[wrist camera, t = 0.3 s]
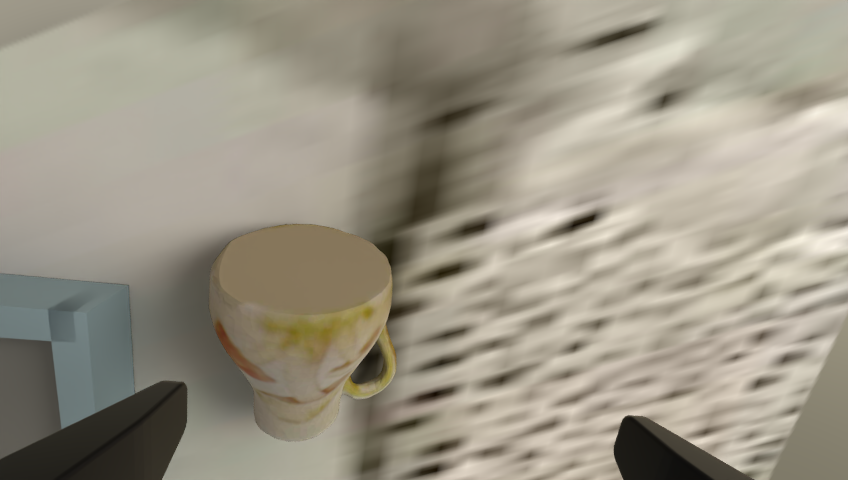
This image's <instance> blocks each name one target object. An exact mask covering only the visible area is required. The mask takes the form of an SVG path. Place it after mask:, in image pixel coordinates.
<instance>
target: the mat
mask: <svg viewBox="0 0 848 480" xmlns="http://www.w3.org/2000/svg"><path fill="white" fill-rule="evenodd" d="M61 429H62V428H61V419H60V411H59V402H58V394H57V385H56V377H55V368H54V360H53V352H52V343H51V341H41V340H27V339H14V338H0V459H1V458H3V457H5V456H7V455H9V454H11V453H13V452H15V451H17V450H20V449H22V448H24V447H26V446H28V445H30V444H32V443H34V442H36V441H38V440H40V439H42V438H44V437H46V436H49V435H51V434H53V433H55V432H57V431H59V430H61Z"/></svg>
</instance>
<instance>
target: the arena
mask: <svg viewBox="0 0 848 480" xmlns="http://www.w3.org/2000/svg"><path fill="white" fill-rule="evenodd" d="M0 338H14V339H27V340H41V341H51V343H52V352H53V360H54V368H55V377H56V385H57V394H58V402H59V411H60V419H61V428H62V429H63V428H65V427H67V426H69V425H71V424H73V423H76V422H78V421H80V420H82V419H84V418H86V417H88V416H90V415H92V414H94V413H96V412H98V411H100V410H102V409H104V408H107V407H109V406H111V405H113V404H115V403H117V402H119V401H121V400H123V399H125V398H127V397H129V396H131V395H133V394H135V390H134V373H133V356H132V338H131V321H130V304H129V287H128V285H120V284H109V283H98V282H87V281H76V280H65V279H54V278H43V277H32V276H22V275H11V274H0Z"/></svg>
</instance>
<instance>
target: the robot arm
mask: <svg viewBox="0 0 848 480" xmlns="http://www.w3.org/2000/svg"><path fill="white" fill-rule="evenodd" d="M186 423H187V386H186V384H185V383H184V382H176V381H161V382H158V383H156V384H154V385H152V386H150V387H148V388H146V389H144V390H142V391H140V392H138V393H136V394H133V395H131V396H129V397H127V398H125V399H123V400H121V401H119V402H117V403H115V404H113V405H111V406H109V407H107V408H104V409H102V410H100V411H98V412H96V413H94V414H92V415H90V416H88V417H86V418H84V419H82V420H80V421H78V422H76V423H73V424H71V425H69V426H67V427H65V428H63V429H61V430H59V431H57V432H55V433H53V434H51V435H49V436H46V437H44V438H42V439H40V440H38V441H36V442H34V443H32V444H30V445H28V446H26V447H24V448H22V449H20V450H17V451H15V452H13V453H11V454H9V455H7V456H5V457H3V458H1V459H0V480H162V478H163V476H164V474H165V472H166V470H167V468H168V465H169V463H170V461H171V459H172V457H173V455H174V452H175V450H176V448H177V446H178V444H179V442H180V440H181V437H182V435H183V433H184V430H185V427H186ZM614 457H615V460H616V463H617V465H618V468H619V470H620V473H621V475H622V477H623V480H754V479H752V478H750V477H749V476H747V475H745V474H743V473H742V472H740V471H738V470H736V469H735V468H733V467H731V466H730V465H728V464H726V463H724V462H723V461H721V460H719V459H717V458H716V457H714V456H712V455H711V454H709V453H707V452H705V451H704V450H702V449H700V448H698V447H697V446H695V445H693V444H691V443H690V442H688V441H686V440H685V439H683V438H681V437H679V436H678V435H676V434H674V433H672V432H671V431H669V430H667V429H666V428H664V427H662V426H660V425H659V424H657V423H655V422H653V421H652V420H650V419H648V418H646V417H643V416H631V415H628V416H625V417H624V418H623V420H622V422H621V426H620V429H619V432H618V435H617V438H616V441H615V445H614Z"/></svg>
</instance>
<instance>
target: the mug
mask: <svg viewBox="0 0 848 480" xmlns="http://www.w3.org/2000/svg"><path fill="white" fill-rule="evenodd" d="M391 299H392V275H391V267H390V265H389V262H388V259H387V257H386V256H385V255H384V254H383V253H382V252H381V251H379V250H378V249H377V248H376V246H375V245H373V244H372V243H371V242H369V241H367V240H365V239H362V238H360V237H358V236H356V235H352V234H349V233H345V232H342V231H340V230H337V229H334V228H329V227H324V226H319V225H312V224H307V225H306V224H292V225H287V224H285V225H279V226H275V227H269V228H264V229H261V230H258V231H255V232H251V233H248V234H245V235H243V236H240V237H238V238H236V239H234V240H232V241H231V242H229V243H228V244H227V246H226V247H225V248H224V249H223V250H222V252H221V253H220V254H219V256H218V257H217V258H216V260H215V261H214V263H213V265H212V267H211V271H210V283H209V310H210V314H211V318H212V322H213V326H214V328H215V331H216V333H217V335H218V338H219V339H220V341H221V343H222V345H223V346H224V348H225V350H226V352H227V353H228V354H229V356H230V357H231V358H232V360H233V361H234V362H235V364H236V365H237V366H238V368H239V369H240V370H241V372H242V373H243V374H244V375H245V377H246V378H247V380H248V381H249V383H250V385H251V386H252V388H253V392H254V415H255V421H256V423H257V425H258V427H259V428H260V429H261V430H262V431H264V432H265V433H267V434H269V435H270V436H272V437H274V438H276V439H280V440H285V441H304V440H307V439H310V438H313V437H316V436H318V435H319V434H321V433H322V432H324V431H325V430H326V429H327V428H328V427H329V426H330V425H331V424H332V423H333V422H334V420H335V419H336V417H337V414H338V411H339V403H340V398H341V395H342V394H345V395H348V396H350V397H351V398H353V399H365V398H368V397H371V396H373V395H375V394H377V393H379V392H381V391H382V390H383V389H384V388H385V387H387V386H388V385H389V384H390V382H391V380H392V379H393V377H394V375H395V372H396V353H395V350H394V347H393V345H392V342H391V340H390V337H389V333H388V330H387V326H386V321H387V319H388V315H389V311H390V307H391ZM376 341H377V343H378V345H379V347H380V350H381V352H382V355H383V359H384V364H383V368H382V371H381V373H380V374H379V375H378V376H377V377H376V378H374V379H372V380H370V381H367V382H363V383H359V384H355V383H353V382H352V380H351V376H350V375H351V374H352V373H353V371H354V370H355V369H356V368H357V366H358V365H359V364H360V362H361V361H362V360H363V359H364V357H365V356H366V355H367V354H368V352H369V351H370V349H371V348H372V347H373V345H374V344H375V342H376Z"/></svg>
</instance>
